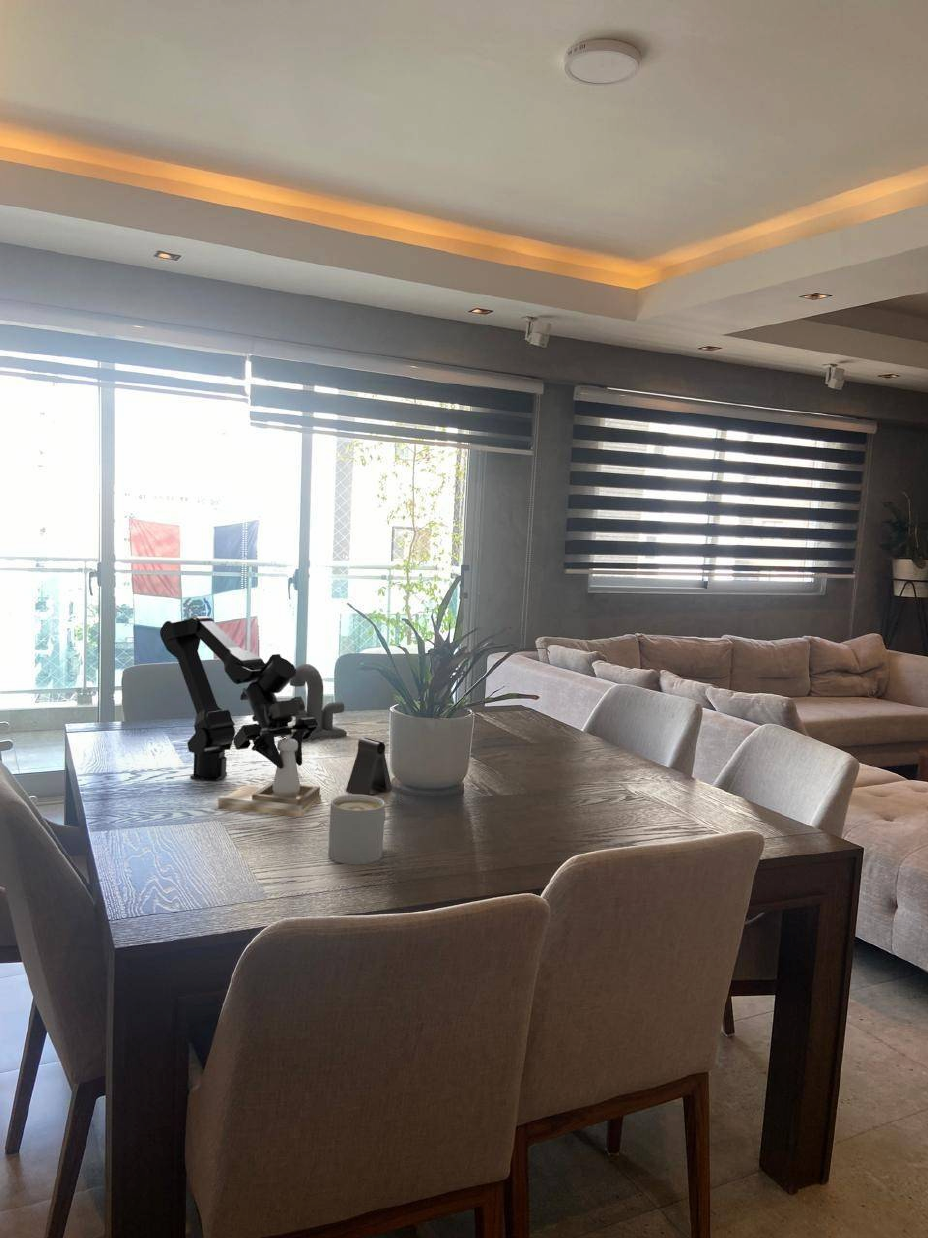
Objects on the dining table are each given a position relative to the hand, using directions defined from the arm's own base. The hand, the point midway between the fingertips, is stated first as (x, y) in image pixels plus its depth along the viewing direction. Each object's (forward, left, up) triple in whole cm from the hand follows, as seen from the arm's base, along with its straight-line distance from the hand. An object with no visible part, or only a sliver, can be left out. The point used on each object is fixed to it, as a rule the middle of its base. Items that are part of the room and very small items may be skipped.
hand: (291, 766), depth 198 cm
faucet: (-21, +67, -9) cm, 71 cm away
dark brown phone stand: (+12, +18, -9) cm, 24 cm away
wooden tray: (-5, +1, -9) cm, 10 cm away
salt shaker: (-1, +1, -8) cm, 8 cm away
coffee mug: (+22, -21, -9) cm, 32 cm away
